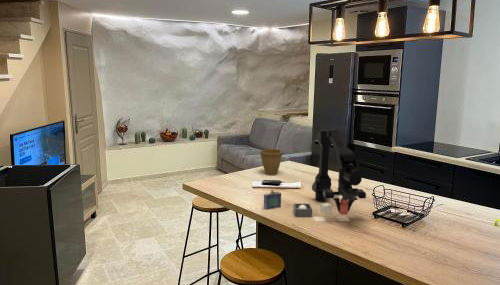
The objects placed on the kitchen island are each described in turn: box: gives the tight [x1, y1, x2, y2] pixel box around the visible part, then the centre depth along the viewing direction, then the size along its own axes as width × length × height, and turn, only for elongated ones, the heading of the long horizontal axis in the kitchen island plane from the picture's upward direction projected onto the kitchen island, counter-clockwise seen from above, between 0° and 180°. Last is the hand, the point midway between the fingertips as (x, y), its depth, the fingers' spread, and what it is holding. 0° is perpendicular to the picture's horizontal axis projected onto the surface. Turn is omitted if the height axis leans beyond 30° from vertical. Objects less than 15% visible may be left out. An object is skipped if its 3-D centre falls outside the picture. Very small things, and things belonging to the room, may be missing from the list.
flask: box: [263, 189, 282, 210], centre depth 188 cm, size 9×3×11 cm, turn 109°
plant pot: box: [259, 148, 283, 176], centre depth 254 cm, size 15×15×16 cm
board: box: [312, 216, 350, 222], centre depth 177 cm, size 14×26×2 cm, turn 91°
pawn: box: [338, 197, 349, 216], centre depth 172 cm, size 4×4×7 cm
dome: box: [298, 205, 307, 209], centre depth 179 cm, size 6×6×4 cm
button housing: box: [292, 203, 313, 218], centre depth 179 cm, size 8×8×4 cm
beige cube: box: [320, 202, 333, 215], centre depth 182 cm, size 4×4×4 cm
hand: (343, 211), depth 173 cm, fingers closed on pawn, 4 cm apart
